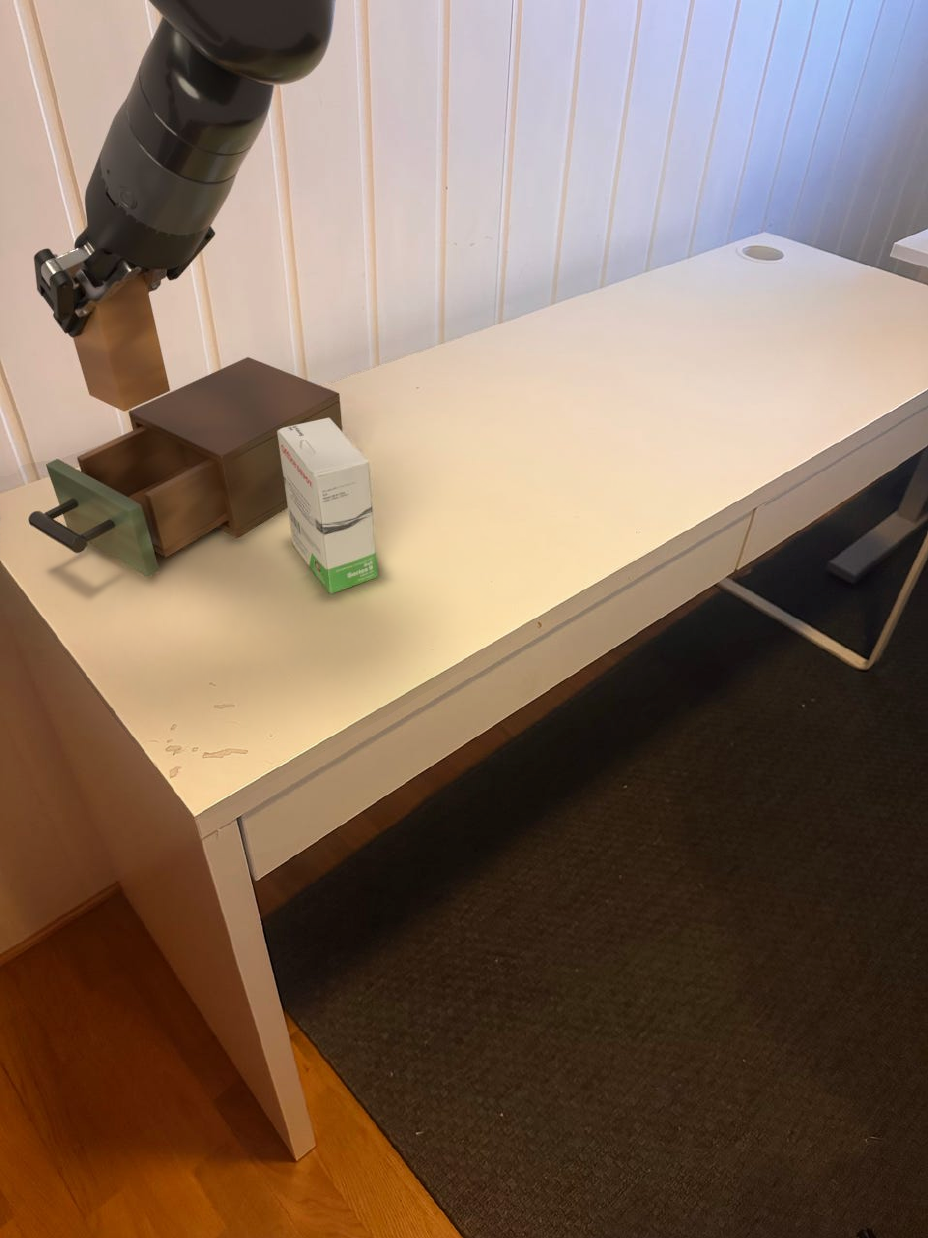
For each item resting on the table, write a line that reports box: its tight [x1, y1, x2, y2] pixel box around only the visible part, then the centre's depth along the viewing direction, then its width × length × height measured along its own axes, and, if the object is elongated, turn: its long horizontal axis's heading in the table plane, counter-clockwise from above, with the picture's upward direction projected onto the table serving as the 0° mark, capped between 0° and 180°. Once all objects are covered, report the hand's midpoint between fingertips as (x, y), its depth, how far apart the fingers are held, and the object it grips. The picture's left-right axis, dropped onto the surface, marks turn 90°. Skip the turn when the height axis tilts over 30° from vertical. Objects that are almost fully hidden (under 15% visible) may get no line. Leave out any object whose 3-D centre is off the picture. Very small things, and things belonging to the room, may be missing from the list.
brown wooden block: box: [72, 273, 171, 412], centre depth 70 cm, size 5×5×10 cm
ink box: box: [277, 418, 379, 594], centre depth 75 cm, size 9×5×12 cm, turn 30°
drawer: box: [27, 425, 228, 578], centre depth 79 cm, size 18×11×7 cm, turn 143°
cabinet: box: [128, 356, 344, 539], centre depth 86 cm, size 15×13×9 cm
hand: (96, 314), depth 70 cm, fingers closed on brown wooden block, 4 cm apart
